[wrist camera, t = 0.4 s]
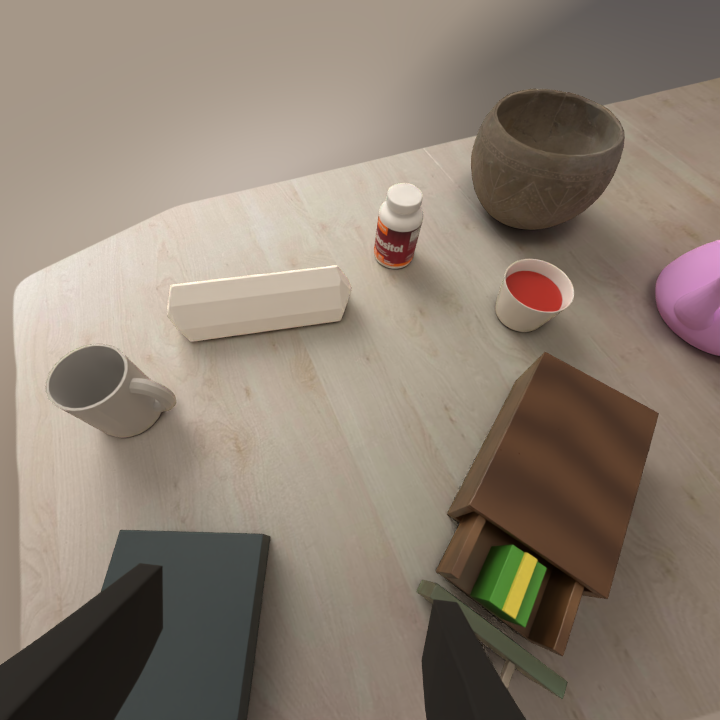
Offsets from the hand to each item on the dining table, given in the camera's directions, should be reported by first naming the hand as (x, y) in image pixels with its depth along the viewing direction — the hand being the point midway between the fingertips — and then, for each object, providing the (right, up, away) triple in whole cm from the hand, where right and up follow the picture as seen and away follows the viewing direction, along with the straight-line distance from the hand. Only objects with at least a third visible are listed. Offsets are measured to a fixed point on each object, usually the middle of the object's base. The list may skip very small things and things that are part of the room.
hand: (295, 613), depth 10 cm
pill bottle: (+7, +23, +47) cm, 53 cm away
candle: (+25, +13, +43) cm, 52 cm away
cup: (-24, +1, +33) cm, 41 cm away
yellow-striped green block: (+15, -14, +25) cm, 32 cm away
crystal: (-11, +13, +41) cm, 45 cm away
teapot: (+53, +13, +45) cm, 70 cm away
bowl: (+29, +33, +55) cm, 70 cm away
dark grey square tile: (-14, -18, +24) cm, 33 cm away
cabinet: (+22, -6, +32) cm, 39 cm away
